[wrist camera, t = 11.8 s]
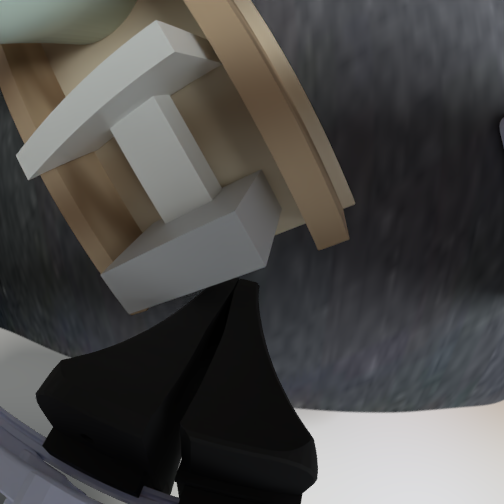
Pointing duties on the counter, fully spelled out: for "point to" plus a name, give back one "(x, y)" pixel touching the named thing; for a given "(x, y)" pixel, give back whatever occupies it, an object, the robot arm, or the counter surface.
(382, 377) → the counter surface
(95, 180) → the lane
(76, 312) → the counter surface
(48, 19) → the green jar
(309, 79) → the counter surface
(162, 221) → the pusher
